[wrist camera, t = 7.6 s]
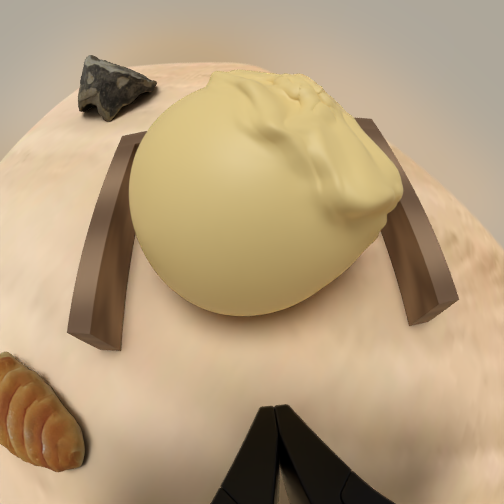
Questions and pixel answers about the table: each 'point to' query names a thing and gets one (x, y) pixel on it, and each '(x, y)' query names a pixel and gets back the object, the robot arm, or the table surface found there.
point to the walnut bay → (122, 236)
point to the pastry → (36, 420)
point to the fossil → (109, 87)
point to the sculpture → (257, 192)
